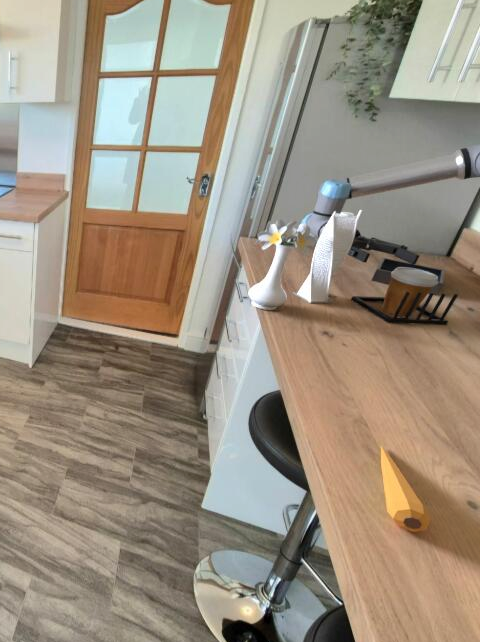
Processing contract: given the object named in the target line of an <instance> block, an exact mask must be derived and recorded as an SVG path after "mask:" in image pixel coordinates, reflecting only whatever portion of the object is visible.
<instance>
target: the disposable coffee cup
mask: <svg viewBox="0 0 480 642" xmlns="http://www.w3.org/2000/svg"><path fill="white" fill-rule="evenodd" d="M391 276H392V277H391V280H390V284H389V285H388V286H387V289H386V293H385V296H384V297H385V299H384V302H382V306H381V310H383V312H386V313H388V314H390V315H393V314H395V313H396V311H397V309H398V307H399V305H400V303H401V301H402V299H403V297H404V295H405V294H406V292H409V293H410V294H409V296H408V297H407V299H406V301H405V303H404V305H403V307H402V309H401V311H400V312H399V314H398V316H397V317H403V316H406V314H407V312H408V311H409V309H410V307H411V305H412V303H413V301H414V300H415V298H416V296H417V294H418V293H419V292H420V293H422V294H421V296H420V298H419V300H418V301H417V303H416V305H415V307H414V309H413V311H412V312H411V314H410V316H409V317H412V315H413V313H414V312H415V311H417V310H416V308H417V307H418V306H420V305H421V303H422V302H423V300H424V299H425V298H427V296H428V295H429V294H428V293H429V292H430V290H431V289H432V288H433V286H435V285H436V284H438V276H437V275H435V274H433V273H430V272H427V271H424V270H420V269H415V268H409V267H398V268H396V269H395V270H394V271H392V272H391Z"/></svg>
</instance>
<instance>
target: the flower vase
mask: <svg viewBox="0 0 480 642" xmlns="http://www.w3.org/2000/svg"><path fill="white" fill-rule="evenodd" d="M285 223H286V222H285V221H284V219H280V218H279V219H277V220H276V221H275V223H271V220H268V222H267V223H266V226H265V229H264V230H261V231H259V232H258V233H257V235H256V237H257V238H258V240H257V241H256V242H254V243H253V246H254V247H255V246H256V245H258V244H260V243H262V242H265V243H264V244H263V245H262V246H261V250H262V251H264V250H267V249H268V248H270V247H271V246H273V245H275V254H274V256H273V259H272V263H271V265H270V267H269V270H268V272H267V274H266V276H265V277H264V278H263V279H262V280H261V281H259V282H258V283H255V284H254V285H253V286H251V287H250V288H249V290H248V293H247V295H248V297H249V299H250V301H251V305H252V306H253V307H255V308H257V309H258V310H259V309H260V310H262V311H263V310H264V311H275V310H276V309H277V307H281V306H283V305H284V304H285V303H286V302H287V298H288V296H287V292H286V291H285V289H284V288H283V284H282V278H283V277H282V276H283V273H284V269H285V267H286V263H287V260H288V259H289V257H290V255H291V254H292V251H293V250H294V249H295V248H296V250H297V252H303V254H304V255H305V256H306V257H310V252H311V251H310V250H313V248H314V247H313V246H316V245H317V240H316V239H317V238H316V236H315V235H314V234H310V227H308V224H306V223H304V224H301V223H300V224H298V228H295V226H296V225H297V223H298V221H297V220H292V221H290V222H288V223H287V224H285ZM282 238H283V239H282Z"/></svg>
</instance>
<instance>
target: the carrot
mask: <svg viewBox="0 0 480 642" xmlns="http://www.w3.org/2000/svg"><path fill="white" fill-rule="evenodd" d="M380 466H381V474H382V482H383V489H384V498H385V504H386V505H385V506H386V512H387V514H389V516H390V517H391V519H392V520H393V522H394V523H395V525H397V526H398V527H399V528H400V529H404V530H406V531H409V532H411V533H416V532H425V531H427V529H428V527H429V526H430V524H431V519H432V517H431V514H430V513H429V512H428V510H427V508H426V507H425V506H424V504H423V502H422V501H421V499H420V498H419V497H418V495H417V494H416V492H415V490H414V489H413V487H412V486H411V485H410V483H409V481H408V480H407V479H406V477H405V475H404V474H403V472H401V470H400V468H399V467H398V465H397V463H395V461H394V460H393V458H392V457H391V456H390V455H389V453H388V452H387V451H386V449H385V448H384V447H383V446H382V445H380Z"/></svg>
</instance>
